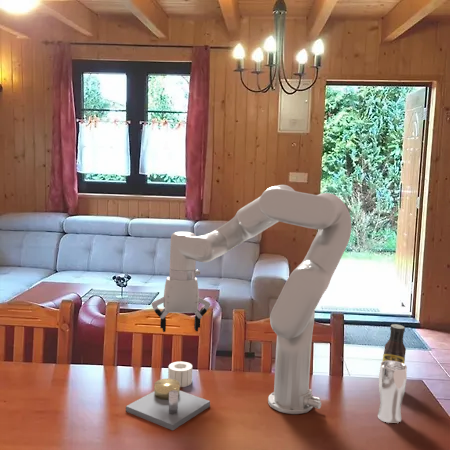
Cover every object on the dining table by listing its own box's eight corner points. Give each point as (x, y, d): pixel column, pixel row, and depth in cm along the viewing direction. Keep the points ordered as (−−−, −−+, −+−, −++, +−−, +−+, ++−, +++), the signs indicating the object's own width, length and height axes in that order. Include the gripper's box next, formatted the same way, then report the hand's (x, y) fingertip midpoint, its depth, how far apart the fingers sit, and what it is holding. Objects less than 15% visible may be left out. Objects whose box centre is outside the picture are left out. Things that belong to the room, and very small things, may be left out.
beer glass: (389, 427, 138) (393, 372, 136) (370, 414, 144) (374, 362, 142) (408, 421, 141) (413, 367, 139) (389, 409, 148) (393, 358, 145)
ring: (196, 381, 162) (196, 365, 161) (182, 389, 156) (182, 372, 155) (178, 375, 165) (178, 359, 165) (163, 382, 160) (163, 366, 159)
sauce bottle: (378, 391, 159) (383, 327, 156) (380, 383, 165) (385, 321, 162) (401, 395, 156) (407, 330, 154) (402, 387, 162) (408, 324, 159)
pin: (179, 411, 139) (180, 392, 138) (173, 415, 137) (174, 395, 136) (172, 409, 141) (172, 389, 140) (166, 412, 139) (167, 392, 138)
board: (209, 406, 146) (210, 401, 146) (172, 430, 133) (172, 424, 133) (165, 390, 155) (165, 385, 155) (126, 411, 142) (126, 406, 141)
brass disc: (184, 393, 150) (184, 383, 150) (168, 402, 144) (168, 391, 144) (165, 386, 154) (165, 376, 153) (149, 395, 148) (149, 384, 148)
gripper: (209, 271, 161) (206, 325, 164) (151, 271, 158) (150, 326, 160) (213, 277, 154) (210, 334, 156) (153, 277, 151) (151, 335, 153)
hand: (180, 330), depth 158 cm, fingers open, 9 cm apart
